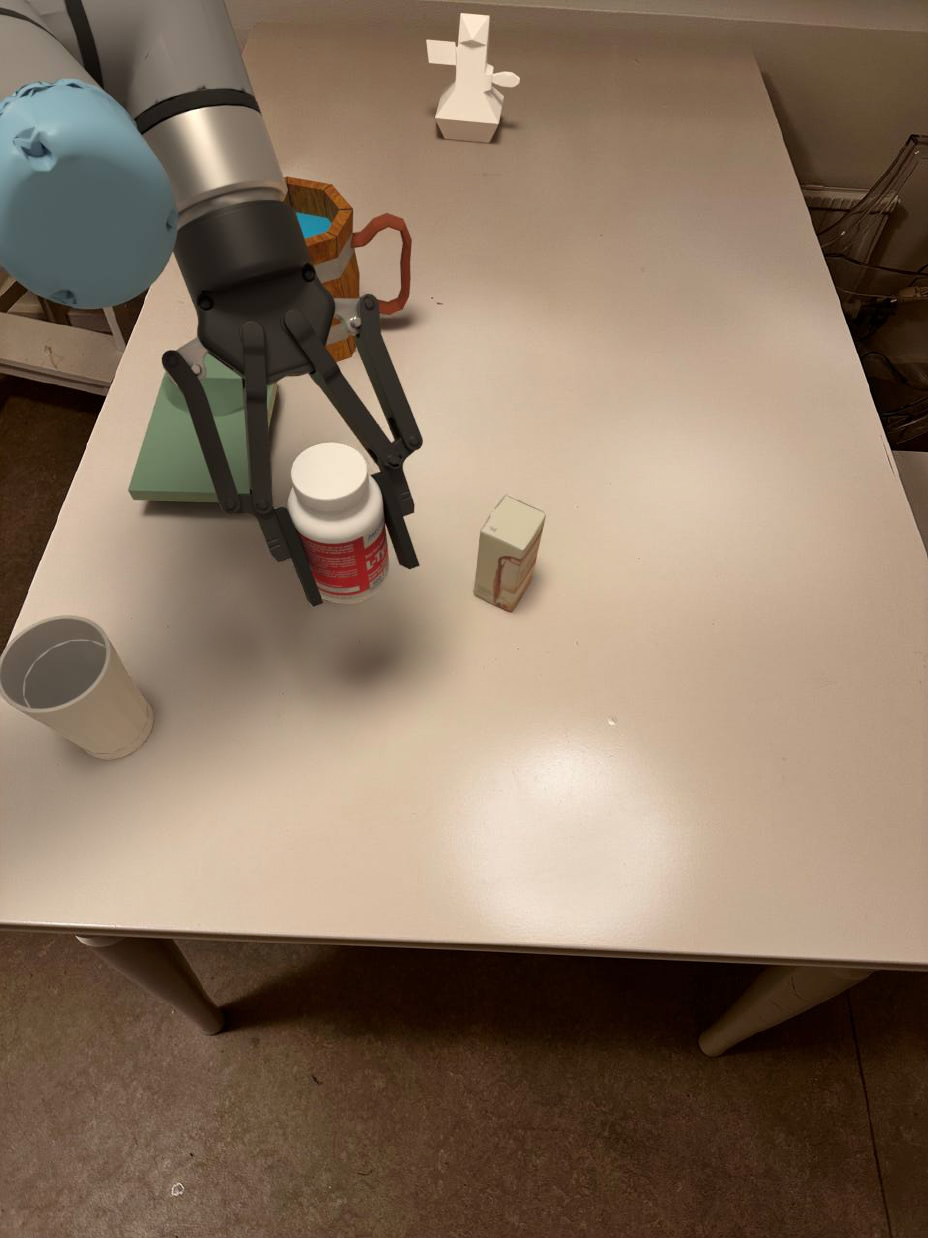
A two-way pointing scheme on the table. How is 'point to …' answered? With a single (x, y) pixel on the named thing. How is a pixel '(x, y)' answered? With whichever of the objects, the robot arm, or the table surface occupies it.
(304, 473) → the pill bottle
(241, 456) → the green rounded-end slab
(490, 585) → the small juice carton
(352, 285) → the mug
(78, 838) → the table surface
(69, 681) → the cup
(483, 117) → the white low-poly figurine
